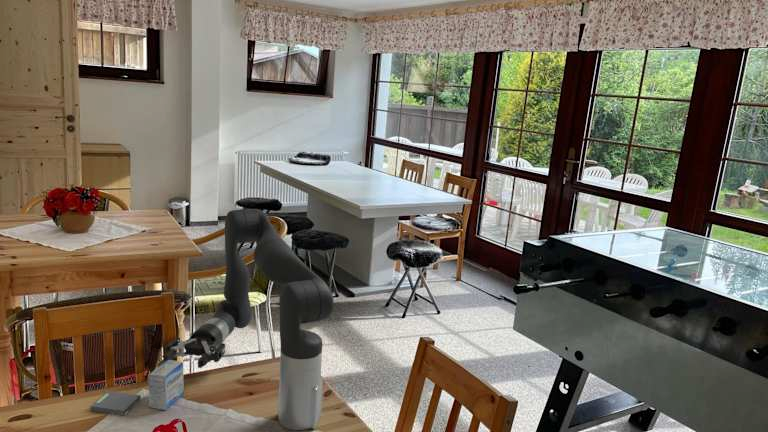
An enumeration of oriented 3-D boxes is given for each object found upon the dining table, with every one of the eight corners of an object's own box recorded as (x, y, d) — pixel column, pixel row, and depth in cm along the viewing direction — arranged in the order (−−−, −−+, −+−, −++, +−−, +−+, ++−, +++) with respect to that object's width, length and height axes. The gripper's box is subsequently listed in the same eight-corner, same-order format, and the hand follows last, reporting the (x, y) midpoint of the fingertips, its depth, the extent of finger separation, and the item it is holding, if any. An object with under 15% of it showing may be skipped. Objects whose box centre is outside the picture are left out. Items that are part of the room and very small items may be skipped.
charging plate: (140, 399, 140) (140, 394, 140) (124, 415, 133) (123, 410, 133) (108, 395, 141) (108, 390, 141) (90, 410, 134) (90, 405, 134)
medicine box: (166, 411, 136) (165, 376, 134) (148, 408, 137) (147, 373, 135) (184, 394, 144) (184, 361, 142) (167, 391, 145) (167, 358, 143)
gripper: (185, 320, 163) (155, 344, 147) (235, 326, 161) (210, 351, 145) (185, 345, 164) (155, 372, 149) (235, 351, 163) (210, 379, 147)
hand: (182, 362), depth 147 cm, fingers open, 8 cm apart
